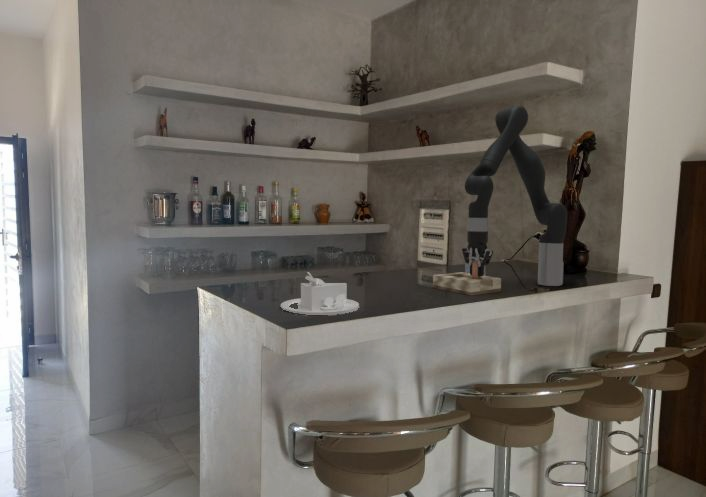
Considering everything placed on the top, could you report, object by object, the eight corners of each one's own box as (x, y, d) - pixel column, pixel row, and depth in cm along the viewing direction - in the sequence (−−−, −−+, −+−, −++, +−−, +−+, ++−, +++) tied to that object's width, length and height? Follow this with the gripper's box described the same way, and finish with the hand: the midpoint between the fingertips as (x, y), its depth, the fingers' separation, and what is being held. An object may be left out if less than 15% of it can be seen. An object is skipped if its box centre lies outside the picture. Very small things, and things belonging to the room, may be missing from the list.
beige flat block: (432, 287, 201) (433, 275, 200) (461, 284, 210) (462, 272, 209) (471, 295, 184) (471, 281, 184) (500, 291, 193) (501, 278, 193)
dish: (294, 319, 146) (294, 280, 145) (271, 303, 169) (271, 270, 168) (371, 312, 156) (372, 276, 155) (340, 298, 179) (341, 266, 178)
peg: (475, 286, 196) (476, 260, 195) (486, 288, 192) (487, 261, 191) (466, 287, 193) (466, 261, 192) (476, 289, 189) (477, 262, 188)
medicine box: (485, 281, 217) (486, 261, 216) (483, 283, 213) (484, 262, 212) (466, 280, 221) (467, 260, 220) (464, 281, 217) (465, 261, 216)
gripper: (499, 230, 187) (498, 277, 189) (470, 228, 199) (469, 273, 200) (485, 231, 183) (484, 279, 184) (456, 229, 194) (455, 274, 196)
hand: (476, 275), depth 192 cm, fingers closed on peg, 3 cm apart
